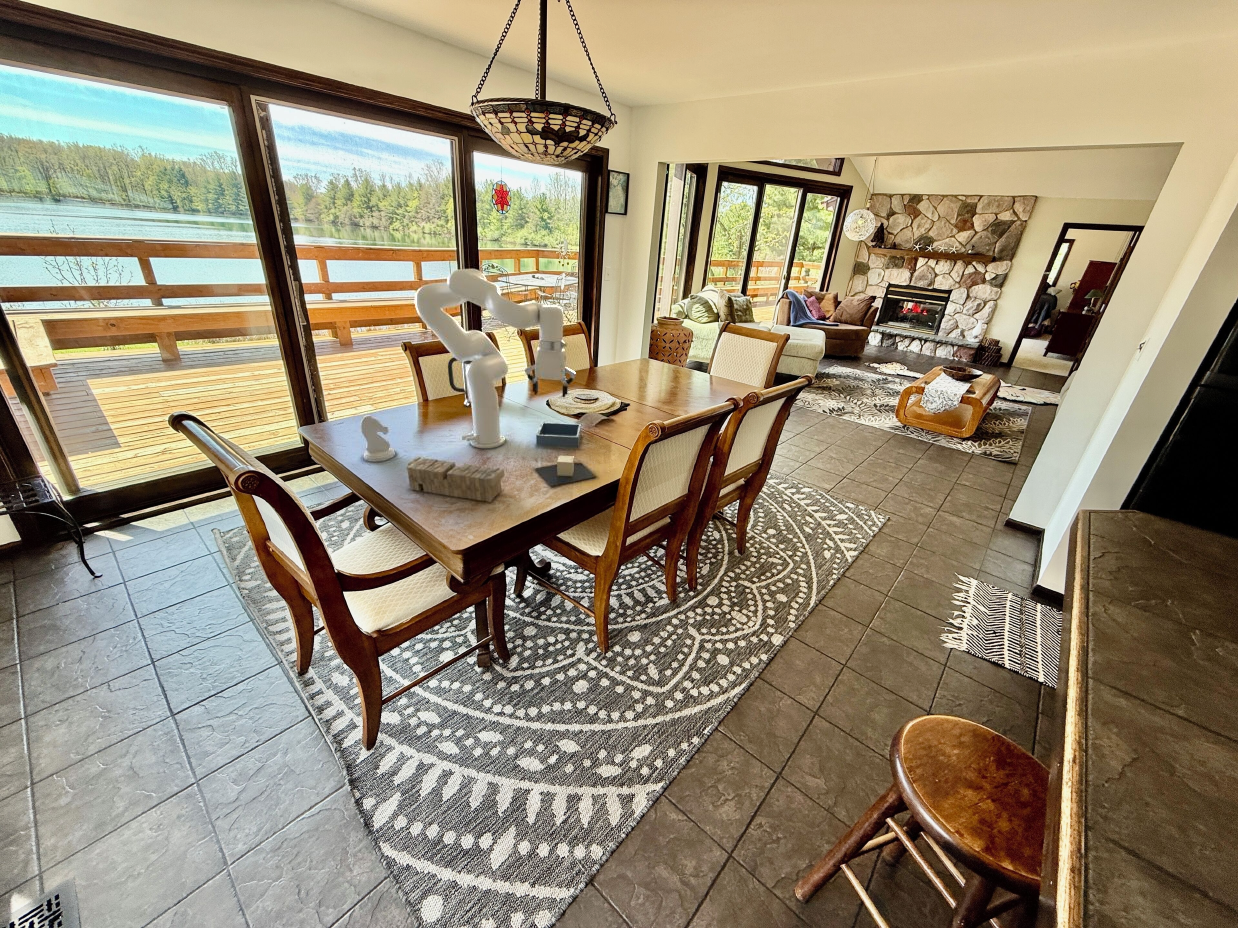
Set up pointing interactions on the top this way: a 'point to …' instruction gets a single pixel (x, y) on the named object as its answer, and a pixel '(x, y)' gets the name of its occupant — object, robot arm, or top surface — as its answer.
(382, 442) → the chess piece
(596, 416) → the grey curved sheet
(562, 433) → the bin
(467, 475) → the block tower
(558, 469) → the block
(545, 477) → the mat
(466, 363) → the coffee press
